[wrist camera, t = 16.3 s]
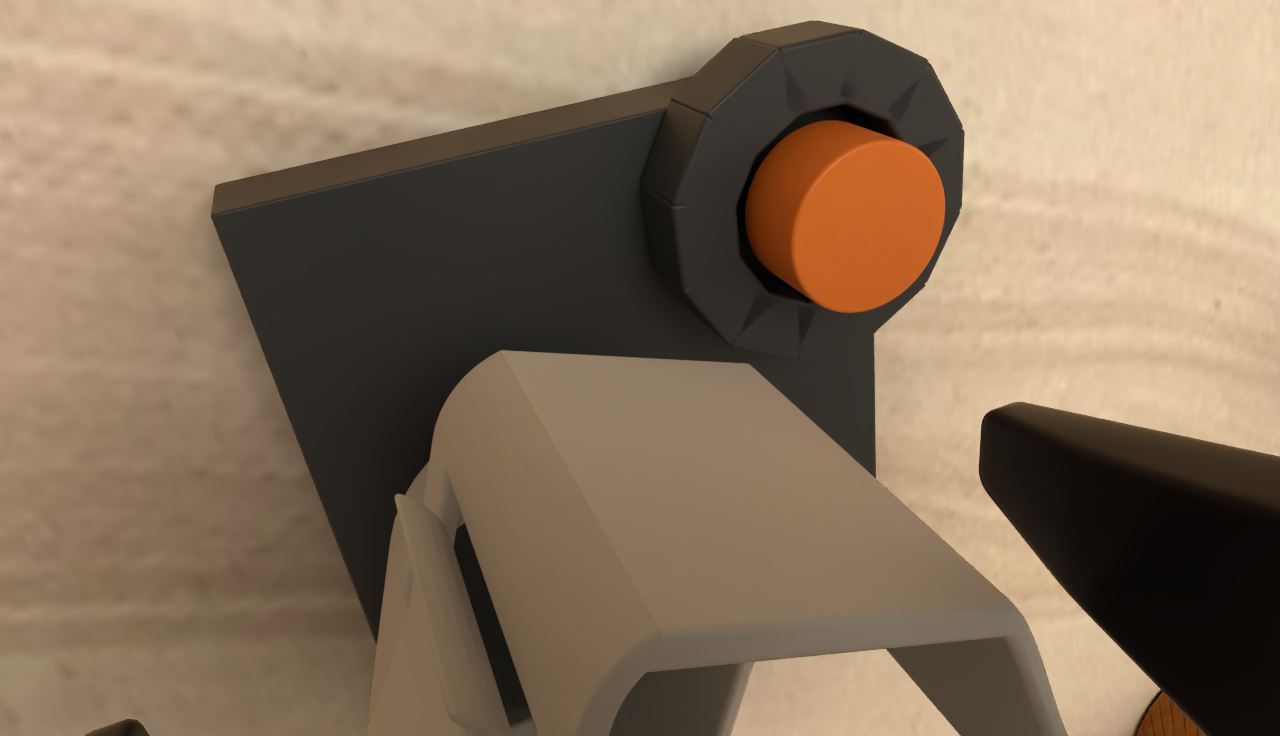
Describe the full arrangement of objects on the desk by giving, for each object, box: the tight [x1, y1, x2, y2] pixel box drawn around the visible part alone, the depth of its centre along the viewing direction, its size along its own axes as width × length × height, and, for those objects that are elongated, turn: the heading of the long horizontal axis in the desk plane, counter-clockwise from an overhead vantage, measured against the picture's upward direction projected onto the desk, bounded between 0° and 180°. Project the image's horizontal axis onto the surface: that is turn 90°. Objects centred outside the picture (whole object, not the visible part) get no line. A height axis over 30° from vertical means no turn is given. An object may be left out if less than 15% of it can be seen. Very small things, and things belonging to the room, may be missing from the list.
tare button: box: [745, 120, 945, 313], centre depth 16 cm, size 3×3×2 cm
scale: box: [211, 21, 964, 724], centre depth 19 cm, size 15×13×4 cm
